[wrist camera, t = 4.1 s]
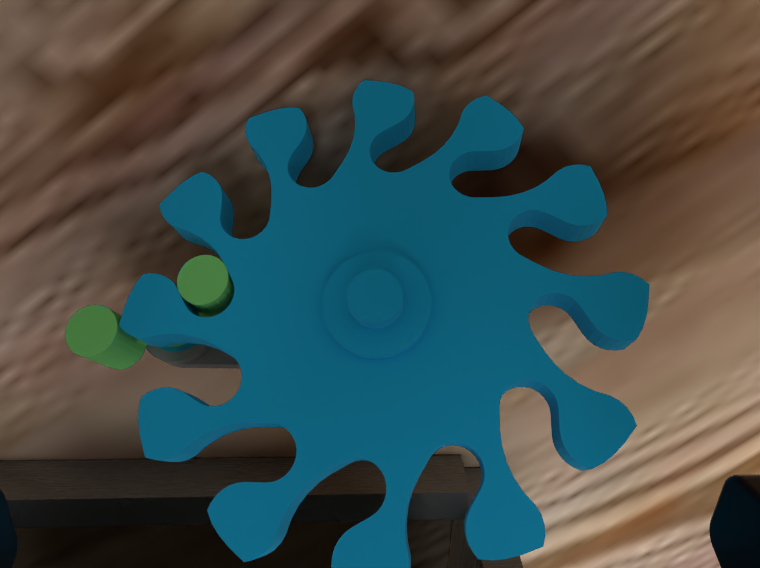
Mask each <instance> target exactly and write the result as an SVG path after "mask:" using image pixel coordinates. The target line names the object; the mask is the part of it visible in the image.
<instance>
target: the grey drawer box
mask: <svg viewBox="0 0 760 568" xmlns="http://www.w3.org/2000/svg"><path fill="white" fill-rule="evenodd" d="M295 458H296V457H281V458H204V459H189V460H186V461H182V462H167V461H159V460H153V459H128V460H51V461H0V488H1V490H2V491H3V492H4V495H5V497H6V501H7V504H8V508H9V511H10V514H11V518H12V521H13V525H14V528H47V527H97V526H146V525H196V524H212V523H211V520H210V517H209V515H208V512H207V510H208V508H209V505H210V503H211V502H212V500H213V499H214V497H215V496H216V495H217V494H218V493H219V492H220V491H221V490H222V489H224V488H226V487H227V486H229V485H232V484H235V483H240V482H265V483H266V482H274V481H276V480H279V479H281V478H282V477H284V476H285V475H286V474H287V473H288V472H289V471H290V470H291V468H292V466H293V464H294V462H295ZM481 478H482V473H481V468H464V466H463V463H462V459H461V455H434V456H431V457H430V459H429V461H428V462H427V464H426V466H425V468H424V469H423V471H422V473H421V475H420V476H419V478H418V481H417V483H416V485H415V487H414V489H413V492H412V495H411V499H410V503H409V506H408V515H407V520H443V519H453V524H452V533H451V541H450V550H449V558H448V567H447V568H523V566H522V562H521V559H520V556H516V557H512V558H508V559H502V560H493V561H492V560H481V559H478V558H477V557H476V556H475V554H474V553H473V552H472V550H471V549H470V547H469V545H468V543H467V540H466V537H465V533H464V520H465V514H466V512H467V510H468V507H469V505H470V503H471V502H472V500H473V498H474V496H475V494H476V492H477V491H478V489H479V486H480V483H481ZM385 496H386V481H385V477H384V475H383V473H382V471H381V470H380V469H379V468H378V467H377V465H375V464H374V463H372V462H370V461H363V460H361V461H355V462H353V463H350V464H348V465H346V466H345V467H343V468H341V469H339V470H338V471H336V472H334V473H332V474H331V475H329V476H328V477H326V478H325V479H323V480H322V481H321V482H319V483H318V484H317V485H316V486H315V487H314V488H313V489H312V490H311V491H310V492H309V493H308V494H307V495H306V497H305V498H304V499H303V501H302V502H301V503H300V505H299V506H298V508H297V510H296V512H295V513H294V515H293V517H292V519H291V521H290V523H295V522H344V521H364V520H365V519H367V518H369V517H371V516H372V515H373V514H375V513H376V512H377V511H378V510H379V509H380V507H381V506H382V504H383V502H384V500H385Z"/></svg>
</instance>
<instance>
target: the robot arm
mask: <svg viewBox="0 0 760 568" xmlns="http://www.w3.org/2000/svg"><path fill="white" fill-rule="evenodd" d="M710 538H711V543H712V546H713V548H714V551H715V553H716V556H717V558H718V561H719V563H720V566H721V568H760V475H733V476H730V477H729V478H728V479H727V480H726V481H725V483H724V485H723V488H722V491H721V493H720V496H719V499H718V502H717V505H716V507H715V510H714V513H713V516H712V519H711V522H710ZM16 552H17V535H16V532H15V528H14V525H13V521H12V518H11V514H10V511H9V508H8V504H7V501H6V497H5V495H4V492H3V491H2V490H1V488H0V568H12V566H13V564H14V561H15V557H16Z"/></svg>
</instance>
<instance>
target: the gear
mask: <svg viewBox="0 0 760 568" xmlns="http://www.w3.org/2000/svg"><path fill="white" fill-rule="evenodd" d="M352 105H353V110H354V114H355V131H354V137H353V141H352V144H351V147H350V149H349V152H348V153H347V155H346V157H345V159H344V161H343V162H342V164H341V165H340V167H339V168H338V170H337V171H336V172H335V174H334V175H333V177H332V178H331V179H330V180H329V181H328V182H326V183H325V184H323V185H321V186H318V187H313V188H308V187H303V186H300V185H298V184H296V180H297V177H298V175H299V173H300V172H301V170H302V169H303V168H304V166H305V165H306V163H307V162H308V160H309V159H310V157H311V155H312V152H313V145H314V143H313V138H312V135H311V132H310V129H309V127H308V124H307V121H306V118H305V116H304V114H303V112H302V111H301V110H300V109H299V108H295V107H287V108H280V109H275V110H271V111H268V112H264V113H262V114H259V115H256V116H253V117H251V118H248V121H247V124H246V131H245V132H246V137H247V140H248V142H249V144H250V146H251V148H252V149H253V151H254V153H255V155H256V157H257V159H258V161H259V162H260V164H261V165H262V166H263V167H264V168H265V169H266V170H267V171H268V173H269V176H270V181H271V210H270V218H269V222H268V224H267V226H266V227H265V228H264V230H263V231H262V232H260V233H259V234H258V235H256V236H254V237H252V238H248V239H237V238H234V237H232V229H233V220H234V208H233V205H232V202H231V201H230V199H229V197H228V196H227V195H226V193H225V192H224V190H223V189H222V187H221V186H220V184H219V183H218V182H217V181H216V180H215V178H214V177H212V176H211V175H209V174H207V173H204V172H200V173H198V174H196V175H194V176H192V177H190V178H189V179H187V180H186V181H184V182H183V183H181V184H180V185H179V186H178V187H177V188H176V189H174V190H173V191H172V192H171V193H170V194H169V195H168V196H167V197H166V198H165V199H164V200H163V201H162V202H161V204H160V210H161V213H162V215H163V217H164V219H165V220H166V221H167V222H168V223H169V224H170V225H171V226H172V227H173V228H174V229H175V230H176V231H177V232H178V233H179V234H180V235H181V236H182V237H183V238H184V239H186V240H187V241H189V242H192V243H195V244H198V245H202V246H204V247H206V248H208V249H210V250H212V251H213V252H215V253H216V254H217V255H219V256H220V257H221V259H222V261H223V262H224V263H223V262H222V261H221V260H220V259H218V258H217V257H214V256H212V255H199V256H196V257H194V258H192V259H190V260H189V261H187V262H186V263H185V264H184V265H183V267H182V268H181V269H180V272H179V274H178V277H177V285H176V284H175V283H174V282H173V281H171V280H170V279H169V278H167V277H165V276H163V275H160V274H153V273H149V274H143V275H142V276H141V278H140V279H139V280H138V281H137V283H136V284H135V286H134V287H133V289H132V291H131V293H130V294H129V297H128V299H127V302H126V304H125V307H124V310H123V313H122V316H121V315H119V314H117V313H116V312H114V311H112V310H110V309H109V308H107V307H104V306H102V305H89V306H86V307H83V308H82V309H80V310H78V311H77V312H76V313H75V314H74V315H73V316H72V317H71V319H70V320H69V322H68V324H67V327H66V331H65V339H66V343H67V345H68V347H69V348H70V349H71V351H72V352H74V353H75V354H77V355H79V356H82V357H84V358H87V359H89V360H92V361H94V362H97V363H99V364H102V365H105V366H107V367H110V368H113V369H125V368H128V367H130V366H132V365H134V364H135V363H136V362H137V361H138V360H139V359H140V358H141V357H142V355H143V353H144V351H145V348H146V349H147V350H148V351H149V352H150V353H151V354H152V355H154V356H155V357H157V358H159V359H161V360H163V361H165V362H167V363H169V364H171V365H173V366H177V367H183V368H241V371H242V381H241V385H240V388H239V390H238V392H237V393H236V395H235V396H234V397H233V398H232V399H231V400H230V401H228V402H226V403H225V404H222V405H219V406H209V405H208V404H206V403H205V402H203V401H202V400H200V399H198V398H196V397H194V396H192V395H190V394H187V393H185V392H183V391H180V390H178V389H174V388H170V387H169V388H158V389H154V390H152V391H150V392H148V393H147V394H145V395H144V396H143V397H141V400H140V405H139V420H138V424H139V431H140V438H141V442H142V447H143V451H144V455H145V457H146V458H149V459H153V460H159V461H167V462H182V461H186V460H189V459H190V458H192V457H194V456H196V455H197V454H198V453H199V452H200V451H202V450H203V449H204V448H205V447H206V446H207V445H209V444H210V443H212V442H214V441H215V440H217V439H218V438H220V437H222V436H224V435H227V434H229V433H231V432H234V431H238V430H242V429H246V428H258V427H277V428H286V429H287V430H288V431H289V432H290V433H291V435H292V436H293V438H294V441H295V444H296V458H295V462H294V464H293V466H292V468H291V470H290V471H289V472H288V473H287V474H286V475H285V476H284V477H282V478H281V479H279V480H276V481H274V482H266V483H265V482H240V483H235V484H232V485H229V486H227V487H226V488H224V489H222V490H221V491H220V492H219V493H218V494H217V495H216V496H215V497H214V499H213V500H212V502H211V503H210V505H209V508H208V510H207V512H208V515H209V517H210V520H211V523H212V525H213V526H214V528H215V530H216V531H217V533H218V535H219V536H220V537H221V539H222V540H223V541H224V542H225V543H226V545H227V546H228V547H229V548H230V549H231V550H232V551H233V552H234V553H235V554H236V555H237V556H238V557H239V558H240V559H241V560H242V561H243V562H247V561H251V560H254V559H257V558H260V557H263V556H266V555H267V554H269V553H271V552H272V551H274V550H275V549H276V548H277V547H278V546H279V545H280V544H281V542H282V541H283V539H284V537H285V536H286V533H287V530H288V527H289V524H290V521H291V519H292V517H293V515H294V513H295V512H296V510H297V508H298V506H299V505H300V503H301V502H302V501H303V499H304V498H305V497H306V495H307V494H308V493H309V492H310V491H311V490H312V489H313V488H314V487H315V486H316V485H317V484H318V483H319V482H321V481H322V480H323V479H325V478H326V477H328V476H329V475H331V474H332V473H334V472H336V471H338V470H339V469H341V468H343V467H345V466H346V465H348V464H350V463H353V462H355V461H361V460H363V461H370V462H372V463H374V464H375V465H377V467H378V468H379V469H380V470H381V471H382V473H383V475H384V477H385V481H386V496H385V500H384V502H383V504H382V506H381V507H380V509H379V510H378V511H377V512H376V513H375V514H373V515H372V516H371V517H369V518H367V519H365V520H364V521H362V522H360V523H359V524H357V525H355V526H353V527H352V528H350V529H349V530H348V531H346V532H345V533H344V534H343V535H342V536H341V538H340V539H339V540H338V542H337V544H336V546H335V548H334V551H333V555H332V563H331V567H332V568H410V567H411V554H410V549H409V544H408V539H407V515H408V506H409V503H410V499H411V495H412V492H413V489H414V487H415V485H416V483H417V481H418V478H419V476H420V475H421V473H422V471H423V469H424V468H425V466H426V464H427V462H428V461H429V459H430V457H431V456H432V455H433V453H435V452H436V451H437V450H438V449H440V448H442V447H445V446H450V445H455V446H461V447H464V448H466V449H467V450H469V451H470V452H471V453H472V454H473V455H474V456H475V457H476V458H477V460H478V462H479V464H480V467H481V473H482V478H481V483H480V486H479V489H478V491H477V492H476V494H475V496H474V498H473V500H472V502H471V503H470V505H469V507H468V510H467V512H466V514H465V520H464V533H465V537H466V540H467V543H468V545H469V547H470V549H471V550H472V552H473V553H474V554H475V556H476V557H477V558H478V559H481V560H492V561H493V560H502V559H508V558H512V557H516V556H519V555H523V554H525V553H528V552H530V551H533V550H535V549H538V548H540V547H543V545H544V539H545V525H544V522H543V519H542V515H541V513H540V512H539V510H538V508H537V507H536V505H535V504H534V503H533V502H532V501H531V500H530V499H529V498H528V497H527V495H526V494H525V493H524V492H523V491H522V489H521V488H520V486H519V485H518V483H517V482H516V480H515V479H514V477H513V475H512V473H511V471H510V468H509V466H508V464H507V462H506V459H505V455H504V451H503V448H502V443H501V434H500V415H499V405H500V399H501V396H502V395H503V394H504V393H505V392H506V391H508V390H510V389H512V388H515V387H528V388H532V389H534V390H536V391H538V392H539V393H540V394H541V395H542V396H543V397H544V398H545V400H546V401H547V403H548V405H549V407H550V413H551V427H552V438H553V443H554V446H555V448H556V450H557V452H558V453H559V455H560V456H561V458H562V459H563V460H564V461H565V462H566V463H568V464H569V465H571V466H572V467H574V468H576V469H579V470H581V471H583V470H588V469H593V468H595V467H596V466H598V465H600V464H602V463H604V462H605V461H607V460H608V459H609V458H610V457H611V456H613V455H614V454H615V453H616V452H617V451H618V450H619V448H620V447H621V446H622V445H623V444H624V443H625V441H626V440H627V439H628V437H629V436H630V434H631V433H632V432H633V430H634V429H635V427H636V426H637V425H636V423H635V420H634V417H633V415H632V414H631V413H630V411H629V410H628V408H627V407H626V406H625V405H624V404H622V403H621V402H620V401H619V400H617V399H615V398H613V397H612V396H609V395H606V394H603V393H599V392H596V391H593V390H591V389H589V388H587V387H585V386H583V385H581V384H579V383H577V382H576V381H575V380H573V379H572V378H570V377H569V376H567V375H566V374H565V373H564V372H563V371H562V370H560V369H559V368H558V367H557V366H556V365H555V364H554V363H553V362H552V360H551V359H550V358H549V356H548V355H547V354H546V352H545V351H544V350H543V348H542V347H541V345H540V344H539V342H538V341H537V339H536V337H535V336H534V334H533V333H532V331H531V329H530V326H529V322H528V314H529V313H530V312H531V311H532V310H533V309H535V308H537V307H540V306H543V305H552V306H557V307H559V308H561V309H563V310H564V311H566V312H567V313H568V314H569V315H570V316H571V317H572V319H573V320H574V322H575V323H576V325H577V326H578V328H579V329H580V331H581V332H582V334H583V335H584V336H585V337H586V338H587V340H589V341H590V342H591V343H593V344H594V345H596V346H598V347H600V348H603V349H606V350H622V349H625V348H626V347H627V346H628V345H630V344H631V343H632V342H634V341H635V340H636V339H637V337H638V335H639V334H640V332H641V330H642V328H643V325H644V322H645V319H646V315H647V308H648V299H649V284H648V283H647V282H646V281H644V280H643V279H642V278H640V277H638V276H636V275H634V274H630V273H626V272H613V273H609V274H604V275H599V276H575V275H567V274H563V273H559V272H555V271H553V270H550V269H548V268H545V267H543V266H541V265H539V264H537V263H535V262H533V261H531V260H529V259H527V258H525V257H523V256H521V255H520V254H518V253H517V252H516V251H515V250H514V249H513V248H512V246H511V244H510V242H509V239H508V236H509V235H510V234H511V233H512V232H513V231H514V230H516V229H518V228H521V227H536V228H538V229H541V230H543V231H545V232H547V233H549V234H551V235H553V236H555V237H557V238H560V239H562V240H566V241H581V240H585V239H587V238H590V237H592V236H593V235H594V234H595V233H597V231H598V230H599V228H600V226H601V225H602V223H603V221H604V220H605V218H606V216H607V204H606V200H605V196H604V193H603V190H602V188H601V186H600V183H599V181H598V179H597V177H596V176H595V174H594V172H593V170H592V168H591V166H587V165H570V166H566V167H564V168H562V169H560V170H558V171H557V172H556V173H555V174H554V175H552V176H551V177H550V178H549V179H548V180H546V181H545V182H543V183H542V184H540V185H538V186H537V187H535V188H532V189H530V190H528V191H525V192H523V193H519V194H515V195H511V196H503V197H468V196H465V195H463V194H461V193H459V192H458V191H457V190H456V189H455V188H454V187H453V185H452V184H451V182H452V180H453V179H454V178H455V177H456V176H458V175H459V174H461V173H463V172H466V171H476V170H497V169H500V168H503V167H505V166H506V165H508V164H509V163H510V162H512V161H513V160H514V158H515V157H516V155H517V153H518V151H519V147H520V143H521V139H522V135H523V130H524V128H523V126H522V125H521V123H520V122H519V120H518V119H517V118H516V117H515V116H514V115H513V114H512V113H511V112H510V111H509V110H507V109H506V108H505V107H503V106H502V105H501V104H499V103H498V102H496V101H494V100H493V99H491V98H490V97H488V96H487V95H486V96H482V97H479V98H477V99H475V100H473V101H471V102H470V103H469V104H468V105H467V106H466V107H465V109H464V110H463V112H462V114H461V117H460V120H459V123H458V125H457V127H456V129H455V131H454V133H453V134H452V136H451V137H450V138H449V140H448V141H447V142H446V143H445V145H444V146H442V147H441V148H440V149H439V150H438V151H437V152H436V153H434V154H433V155H431V156H430V157H428V158H427V159H425V160H424V161H422V162H420V163H418V164H416V165H414V166H412V167H410V168H409V169H407V170H404V171H402V172H396V173H394V172H386V171H383V170H381V169H380V168H378V167H377V166H376V165H375V162H376V160H377V158H378V157H379V156H380V155H381V154H382V153H384V152H385V151H387V150H389V149H391V148H393V147H395V146H397V145H398V144H400V143H402V142H403V141H405V140H406V139H407V138H408V137H409V136H410V135H411V133H412V131H413V129H414V126H415V103H414V94H413V91H411V90H409V89H407V88H405V87H402V86H399V85H396V84H393V83H387V82H382V81H372V80H364V81H363V82H362V83H360V84H359V85H358V87H357V88H356V90H355V92H354V95H353V100H352Z"/></svg>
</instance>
